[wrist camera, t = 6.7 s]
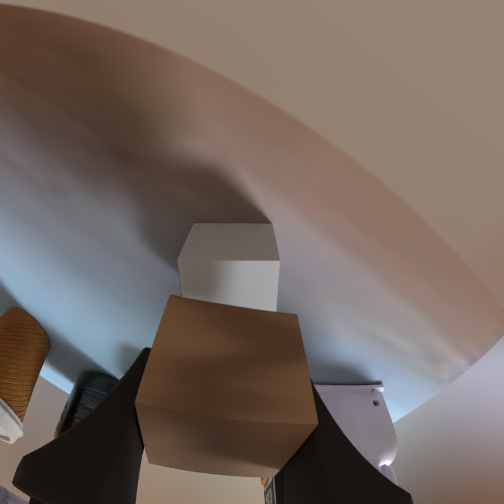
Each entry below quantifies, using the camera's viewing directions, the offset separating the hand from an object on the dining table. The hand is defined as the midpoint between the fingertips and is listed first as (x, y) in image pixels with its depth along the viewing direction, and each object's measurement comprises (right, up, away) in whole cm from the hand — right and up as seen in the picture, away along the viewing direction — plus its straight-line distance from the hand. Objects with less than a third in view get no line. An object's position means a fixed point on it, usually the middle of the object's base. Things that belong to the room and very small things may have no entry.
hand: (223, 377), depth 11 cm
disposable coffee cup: (-23, -3, +13) cm, 26 cm away
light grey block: (0, +5, +9) cm, 10 cm away
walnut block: (0, +1, +1) cm, 2 cm away
